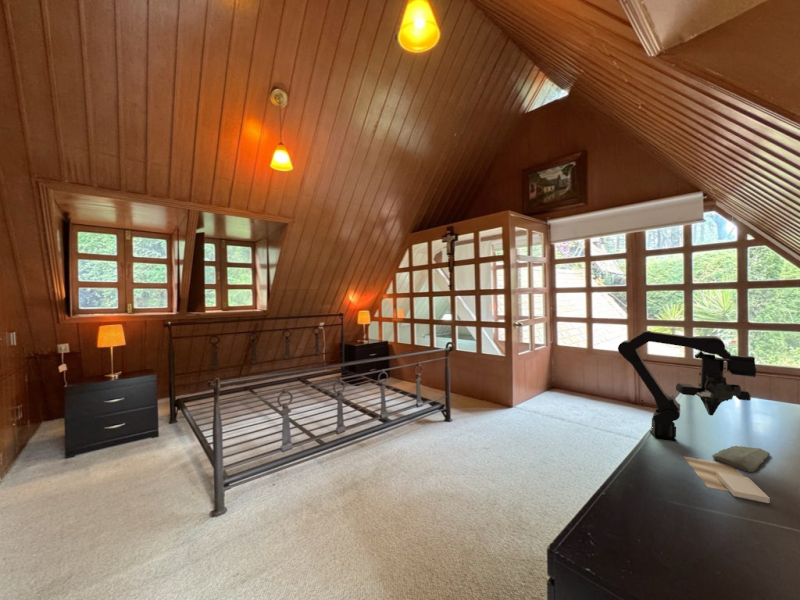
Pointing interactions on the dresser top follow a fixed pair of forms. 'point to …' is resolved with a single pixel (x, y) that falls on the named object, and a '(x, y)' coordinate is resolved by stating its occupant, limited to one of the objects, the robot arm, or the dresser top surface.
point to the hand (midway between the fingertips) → (710, 415)
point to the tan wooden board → (711, 471)
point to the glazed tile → (742, 487)
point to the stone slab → (742, 457)
